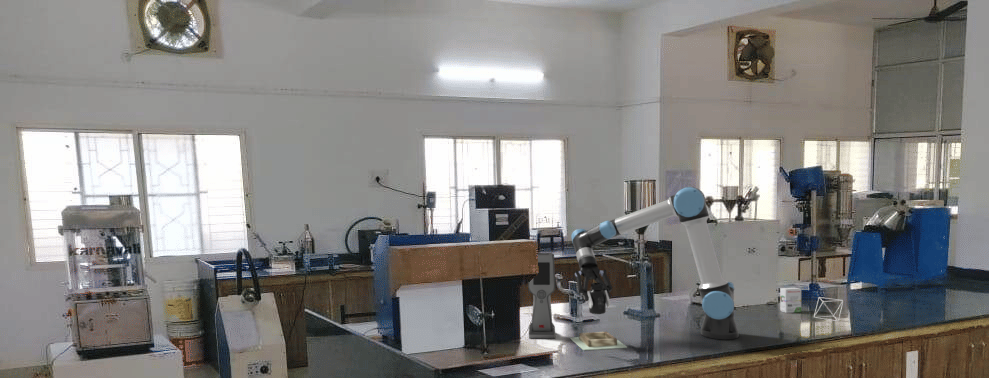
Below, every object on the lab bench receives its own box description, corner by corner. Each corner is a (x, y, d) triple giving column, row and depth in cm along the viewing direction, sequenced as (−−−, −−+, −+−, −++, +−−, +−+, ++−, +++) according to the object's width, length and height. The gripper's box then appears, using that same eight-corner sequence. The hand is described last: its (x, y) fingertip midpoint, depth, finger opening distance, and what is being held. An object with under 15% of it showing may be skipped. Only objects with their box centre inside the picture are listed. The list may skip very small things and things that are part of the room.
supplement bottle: (606, 311, 246) (605, 282, 246) (605, 314, 239) (605, 285, 239) (589, 310, 248) (589, 281, 247) (588, 314, 241) (588, 284, 241)
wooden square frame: (606, 337, 250) (606, 331, 250) (617, 345, 239) (616, 338, 239) (579, 339, 248) (579, 333, 248) (588, 346, 237) (588, 340, 237)
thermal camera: (555, 331, 263) (554, 252, 263) (556, 339, 250) (555, 256, 250) (529, 331, 264) (528, 252, 264) (528, 338, 251) (527, 256, 251)
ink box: (795, 310, 300) (795, 286, 299) (801, 312, 295) (801, 288, 295) (779, 311, 298) (779, 287, 298) (786, 313, 293) (786, 289, 293)
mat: (610, 336, 254) (610, 335, 254) (627, 347, 236) (627, 346, 236) (570, 338, 251) (570, 337, 251) (583, 350, 233) (583, 349, 233)
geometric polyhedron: (815, 320, 279) (815, 300, 279) (811, 314, 289) (811, 296, 289) (845, 322, 275) (846, 302, 275) (840, 316, 285) (840, 297, 285)
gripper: (606, 265, 260) (620, 310, 244) (563, 266, 257) (574, 312, 241) (610, 254, 255) (625, 299, 239) (566, 255, 251) (578, 301, 236)
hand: (600, 305), depth 240 cm, fingers closed on supplement bottle, 7 cm apart
